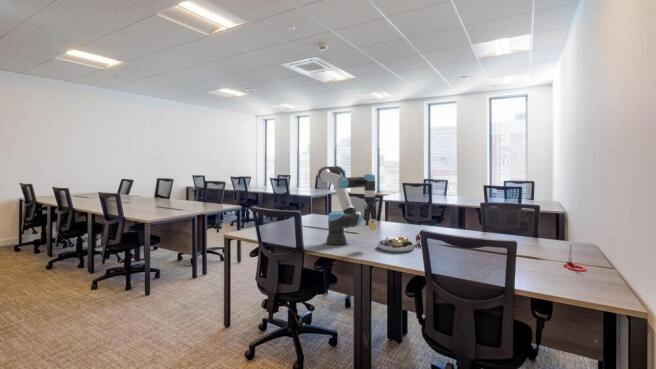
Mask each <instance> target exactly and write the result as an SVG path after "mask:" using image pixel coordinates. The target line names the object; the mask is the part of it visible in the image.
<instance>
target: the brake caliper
mask: <svg viewBox="0 0 656 369" xmlns="http://www.w3.org/2000/svg"><path fill="white" fill-rule="evenodd" d="M422 230H425V229H422ZM419 235H420V234H419V233H418V234H417V235H416V236H415V242H416V243H415V245H416V246H417V247H419V246H420V237H421V236H419Z"/></svg>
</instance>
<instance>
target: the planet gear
mask: <svg viewBox="0 0 656 369" xmlns="http://www.w3.org/2000/svg"><path fill="white" fill-rule="evenodd" d="M365 227H366V222H365ZM376 230H377V222H376V221H375V222H371V221H370V230H369V231H376Z"/></svg>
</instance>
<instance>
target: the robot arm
mask: <svg viewBox="0 0 656 369" xmlns="http://www.w3.org/2000/svg"><path fill="white" fill-rule="evenodd" d="M346 174H347V173H346V170H345V169H344V167H343V166H339V165H335V166H334V165H333V166H322V167H320V168H319V169H318V171H317V178H318V179H319V180H320V181H321V182H328V183H331V185H333V187H334V189H335V193H336V195H337V198H338V202H339V205H340V207H341V210H336V211H333V212H332V211H331V212H329V213H328V215H327V222H328V223H327V225H328V229H327V230H328V234H327V236H326V240H325V241H326V242H325V243H326V245H328V246H343V245H347V243H348V240H347V237H346V235H345V229H349V228H355V227H359V226H360V225H361V223H362V221H363V220H364V222H365V223H366V226H365V230H366V231H371V230H370V222H376V220H377V203H376V202H377V201H376V193H377V192H376V175H375V174H374V173H371V174H370V173H369V174H367V173H365V174H364V176H353V177H347V175H346ZM353 188H354V189H355V188H359V189H360V188H363V189H364V203H366V204H365V205H364V206H363V209H364V211H363V212H364V213H363V217H362V213H361V212H360V211H359V210H357V208H356V207H355V206H353V204H352V201H351V198H350V195H349V192H348V189H353ZM370 217H371V219H370Z"/></svg>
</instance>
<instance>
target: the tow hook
mask: <svg viewBox="0 0 656 369" xmlns="http://www.w3.org/2000/svg"><path fill="white" fill-rule="evenodd" d="M572 246H573V244H572V243H569V250H568V257H567V261H566V263H565V264H562V266H563V267H564V268H567V269H568V270H571V271H575V272H587V268H586V267H585V266H582V265H578V264H576V263H573V261H572V260H573V258H572V254H573V253H572V252H573V247H572Z"/></svg>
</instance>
